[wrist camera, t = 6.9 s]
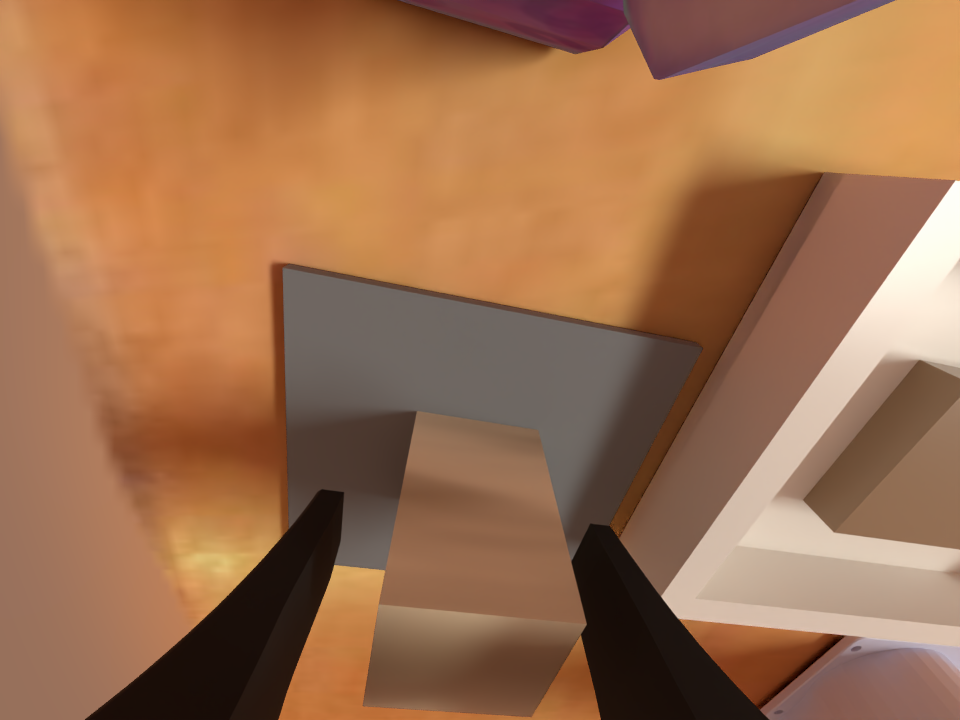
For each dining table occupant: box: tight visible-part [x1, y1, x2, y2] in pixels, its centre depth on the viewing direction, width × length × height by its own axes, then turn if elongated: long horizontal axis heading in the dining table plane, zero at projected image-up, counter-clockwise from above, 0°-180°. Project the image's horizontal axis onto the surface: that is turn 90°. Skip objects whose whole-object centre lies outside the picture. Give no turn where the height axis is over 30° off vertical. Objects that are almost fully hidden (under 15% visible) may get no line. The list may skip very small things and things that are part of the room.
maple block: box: [363, 411, 587, 717], centre depth 11 cm, size 4×4×6 cm
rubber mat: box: [283, 264, 703, 570], centre depth 14 cm, size 12×12×1 cm
